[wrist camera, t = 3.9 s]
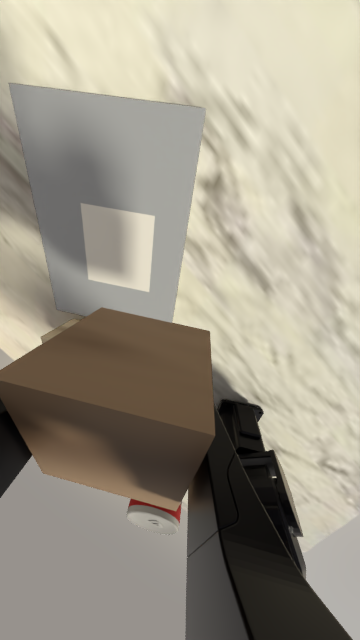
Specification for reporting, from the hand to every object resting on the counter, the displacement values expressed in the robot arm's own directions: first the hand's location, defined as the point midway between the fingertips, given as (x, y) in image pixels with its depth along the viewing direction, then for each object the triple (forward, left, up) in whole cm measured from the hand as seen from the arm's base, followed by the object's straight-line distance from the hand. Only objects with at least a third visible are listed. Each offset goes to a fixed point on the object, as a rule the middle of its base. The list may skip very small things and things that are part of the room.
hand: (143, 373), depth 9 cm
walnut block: (0, 0, -1) cm, 1 cm away
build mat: (+6, +8, -11) cm, 15 cm away
